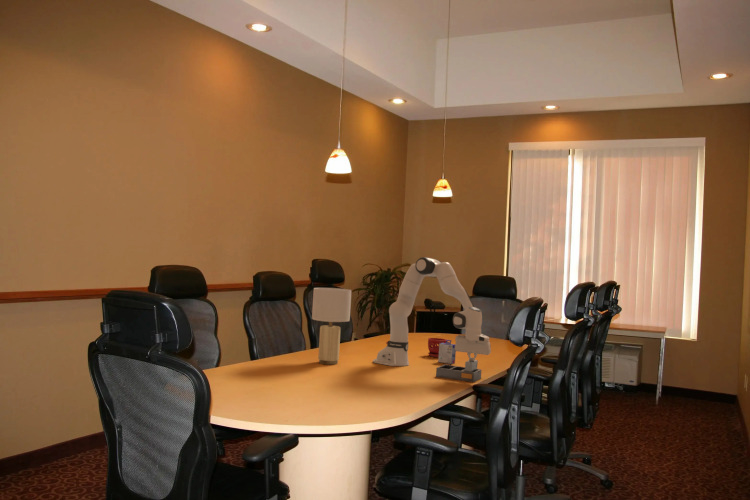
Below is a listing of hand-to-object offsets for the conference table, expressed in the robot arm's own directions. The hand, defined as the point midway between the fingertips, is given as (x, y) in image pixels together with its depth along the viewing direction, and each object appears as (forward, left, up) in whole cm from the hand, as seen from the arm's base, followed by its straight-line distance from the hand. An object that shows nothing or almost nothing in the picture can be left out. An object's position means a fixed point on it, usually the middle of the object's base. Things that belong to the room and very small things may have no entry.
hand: (472, 361), depth 351 cm
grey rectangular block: (0, 0, -9) cm, 9 cm away
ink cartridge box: (-29, +41, -11) cm, 51 cm away
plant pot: (-43, +60, -11) cm, 75 cm away
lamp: (-84, -15, -11) cm, 86 cm away
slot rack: (-7, 0, -10) cm, 13 cm away
